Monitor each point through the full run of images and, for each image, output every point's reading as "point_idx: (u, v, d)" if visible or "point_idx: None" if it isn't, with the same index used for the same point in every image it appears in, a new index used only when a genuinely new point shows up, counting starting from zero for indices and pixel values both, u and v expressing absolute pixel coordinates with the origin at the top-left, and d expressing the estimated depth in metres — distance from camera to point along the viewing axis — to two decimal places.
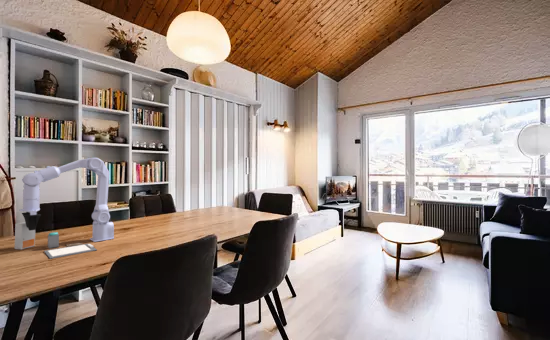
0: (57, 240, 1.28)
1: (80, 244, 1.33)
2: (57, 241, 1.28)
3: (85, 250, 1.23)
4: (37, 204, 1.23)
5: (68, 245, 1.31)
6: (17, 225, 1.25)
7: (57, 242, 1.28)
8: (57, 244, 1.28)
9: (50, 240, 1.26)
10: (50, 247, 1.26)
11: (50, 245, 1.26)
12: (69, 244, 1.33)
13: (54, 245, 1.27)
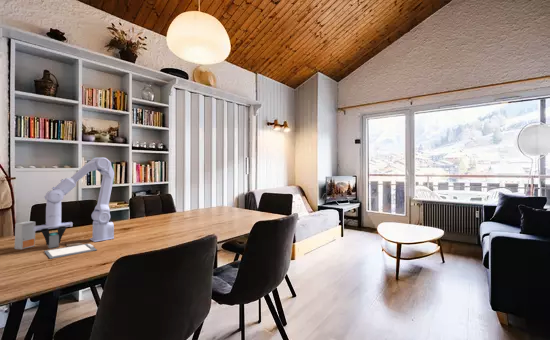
0: (57, 240, 1.28)
1: (80, 244, 1.33)
2: (57, 241, 1.28)
3: (85, 250, 1.23)
4: (48, 221, 1.25)
5: (68, 245, 1.31)
6: (17, 225, 1.25)
7: (57, 242, 1.28)
8: (57, 244, 1.28)
9: (50, 240, 1.26)
10: (50, 247, 1.26)
11: (50, 245, 1.26)
12: (69, 244, 1.33)
13: (54, 245, 1.27)
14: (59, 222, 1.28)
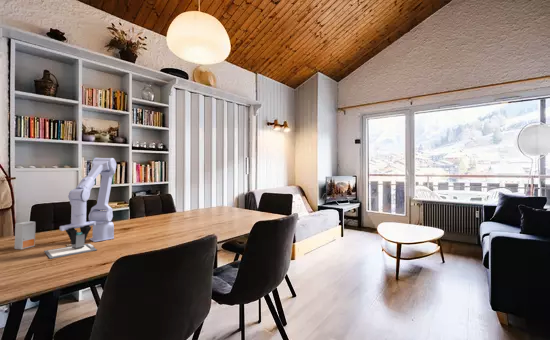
0: (83, 240, 1.27)
1: None
2: (83, 240, 1.27)
3: (85, 250, 1.23)
4: (76, 220, 1.23)
5: (68, 245, 1.31)
6: (17, 225, 1.25)
7: (83, 241, 1.27)
8: (83, 243, 1.27)
9: (77, 240, 1.24)
10: (77, 247, 1.24)
11: (77, 245, 1.24)
12: (69, 244, 1.33)
13: (80, 244, 1.26)
14: (85, 221, 1.27)
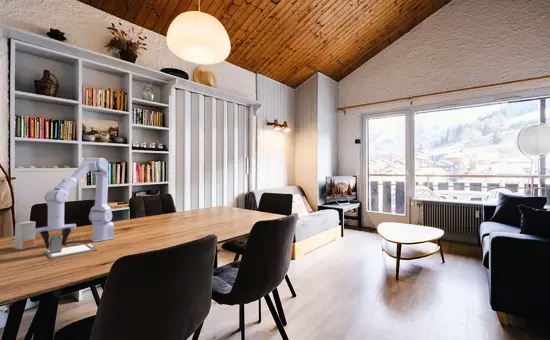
0: (60, 244, 1.20)
1: (80, 244, 1.33)
2: (60, 245, 1.20)
3: (85, 250, 1.23)
4: (50, 223, 1.17)
5: (68, 245, 1.31)
6: (17, 225, 1.25)
7: (60, 246, 1.20)
8: (60, 248, 1.20)
9: (52, 244, 1.18)
10: (52, 252, 1.18)
11: (52, 249, 1.18)
12: (69, 244, 1.33)
13: (57, 249, 1.19)
14: (62, 224, 1.20)
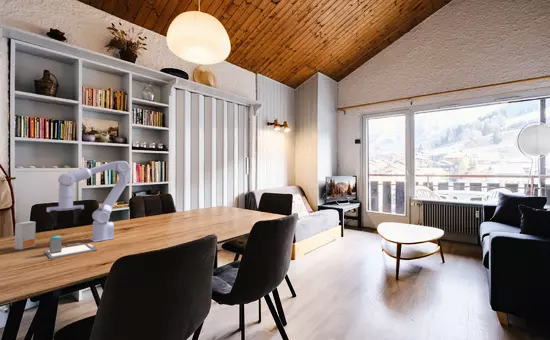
0: (60, 244, 1.20)
1: (80, 244, 1.33)
2: (60, 245, 1.20)
3: (85, 250, 1.23)
4: (61, 203, 1.30)
5: (68, 245, 1.31)
6: (17, 225, 1.25)
7: (60, 246, 1.20)
8: (60, 248, 1.20)
9: (52, 244, 1.18)
10: (52, 252, 1.18)
11: (52, 249, 1.18)
12: (69, 244, 1.33)
13: (57, 249, 1.19)
14: (71, 204, 1.33)
